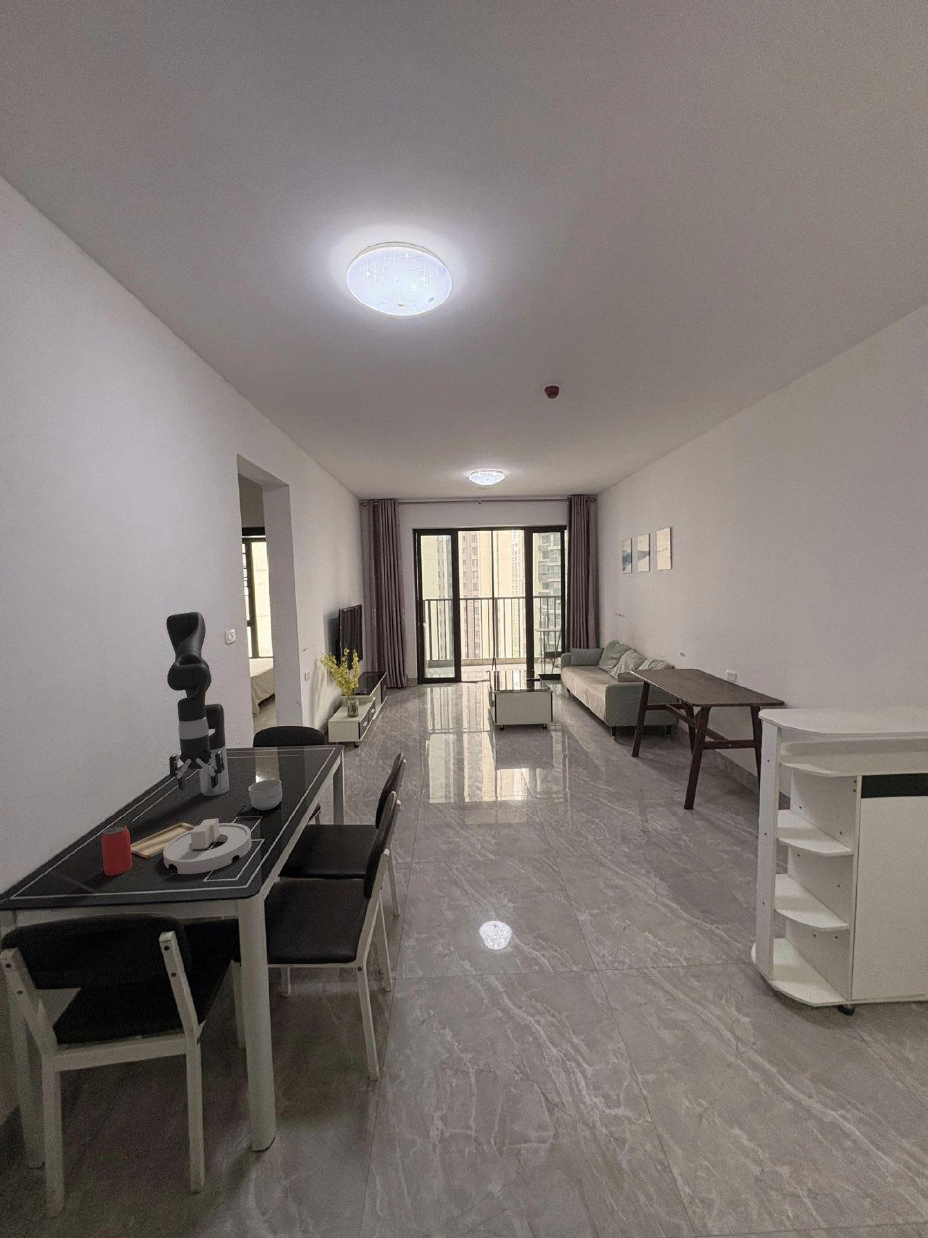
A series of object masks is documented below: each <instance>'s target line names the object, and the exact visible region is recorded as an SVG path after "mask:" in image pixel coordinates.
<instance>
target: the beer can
mask: <svg viewBox="0 0 928 1238" xmlns="http://www.w3.org/2000/svg"><path fill="white" fill-rule="evenodd" d="M130 836H131V835H130V831H129V829H128V827H127V825H126V824H115V825H112V826H109V827H107V828H106V829H104V830H103V831H102V835H101V849H102V859H103V860H102V861H103V869H104V875H106V876H117V875H120V874H123V873H126V872H128V871H129V870H131V869H132V868H133V857H132V854H133V853H132V852H131V844H132V843H131V837H130Z"/></svg>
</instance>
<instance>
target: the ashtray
mask: <svg viewBox="0 0 928 1238" xmlns="http://www.w3.org/2000/svg"><path fill="white" fill-rule="evenodd" d="M219 830H220V835H219V837H218V838H217V839H216V840H215V841H212V842H211V843H216V842H218V843H219V842H220V843H223V844H221V845H219V846H217V847H214V848H212V849H208V850H201V851H197V850H196V851H194V849H192V842H191V831H192V830H191V831H188V832H186V833H183V834H181V835H180V836H178V837H176V838H174V839H173V840H172V841H170V842H169V843H168V844H167V845H166V846H165V848H164V851H163V852H162V854H163V855H162V857H163V865H164V866H165V867H166V868H167V869H169V868H170V866H171V865H174V866H175V867H176V868H177V874H179V875H193V874H202V873H206V872H210V871H216V870H218V869H221V868H224V867H226V866H228V865H231V864H232V863H233V858H234V857H235V856H239V859H241V858H243V857H244V856H245V855H246V854H247V853H248V852H249V851H250V850H251V847H252V843H253V842H252V833H251V829H250V827H248V826H246V825H244V824H240V823H235V822H223V823H222V822H221V823H219Z"/></svg>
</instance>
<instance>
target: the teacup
mask: <svg viewBox="0 0 928 1238" xmlns="http://www.w3.org/2000/svg"><path fill="white" fill-rule="evenodd" d="M247 789H248V794H249V799H250V803H251V804H250V805H252V807H253V808H255V809H257V810H258V811H269V810H272V809H273V808H275V807H277V806H278V805H279V803H281V801H282V799H283V789H282V780H280V779H278V778H277V779H276V777H270V779H264V780H260V781H258V782H255V783H252V784H251V785H249V787H248V788H247Z"/></svg>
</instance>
